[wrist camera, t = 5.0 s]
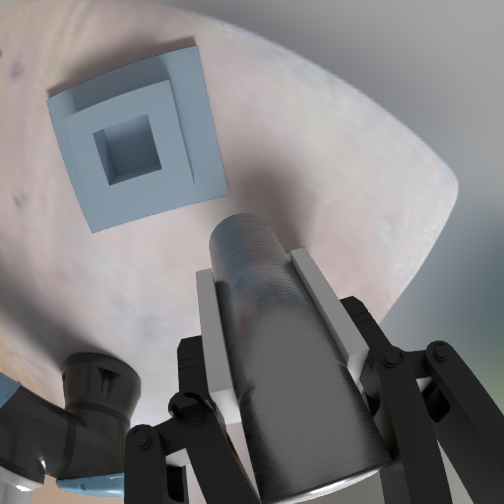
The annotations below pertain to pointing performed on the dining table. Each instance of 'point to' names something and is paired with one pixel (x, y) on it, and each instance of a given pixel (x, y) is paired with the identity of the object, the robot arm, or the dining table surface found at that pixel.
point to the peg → (288, 372)
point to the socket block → (139, 139)
